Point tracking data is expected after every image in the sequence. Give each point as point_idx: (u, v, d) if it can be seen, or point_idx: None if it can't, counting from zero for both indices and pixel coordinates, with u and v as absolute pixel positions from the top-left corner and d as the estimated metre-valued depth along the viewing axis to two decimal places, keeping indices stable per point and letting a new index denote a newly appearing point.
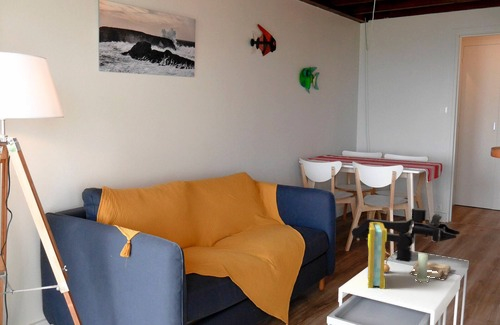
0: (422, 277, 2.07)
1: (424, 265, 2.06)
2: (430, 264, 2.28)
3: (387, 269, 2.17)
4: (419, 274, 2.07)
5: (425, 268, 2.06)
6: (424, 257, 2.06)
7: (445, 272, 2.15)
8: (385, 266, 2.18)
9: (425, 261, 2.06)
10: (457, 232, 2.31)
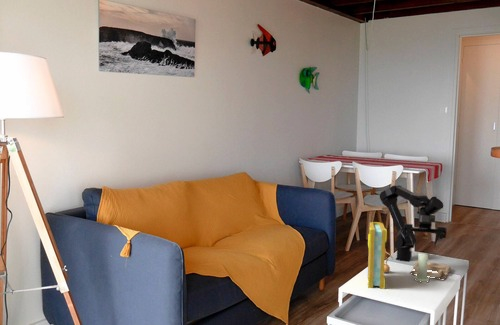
0: (422, 277, 2.07)
1: (424, 265, 2.06)
2: (430, 264, 2.28)
3: (387, 269, 2.17)
4: (419, 274, 2.07)
5: (425, 268, 2.06)
6: (424, 257, 2.06)
7: (445, 272, 2.15)
8: (385, 266, 2.18)
9: (425, 261, 2.06)
10: (434, 245, 2.14)
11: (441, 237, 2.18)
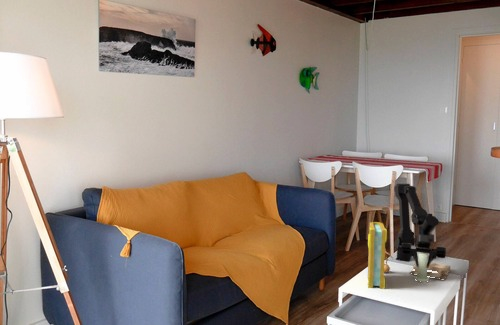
0: (422, 277, 2.07)
1: (424, 265, 2.06)
2: (430, 264, 2.28)
3: (387, 269, 2.17)
4: (419, 274, 2.07)
5: (425, 268, 2.06)
6: (424, 257, 2.06)
7: (445, 272, 2.15)
8: (385, 266, 2.18)
9: (425, 261, 2.06)
10: (427, 265, 2.07)
11: (434, 257, 2.10)
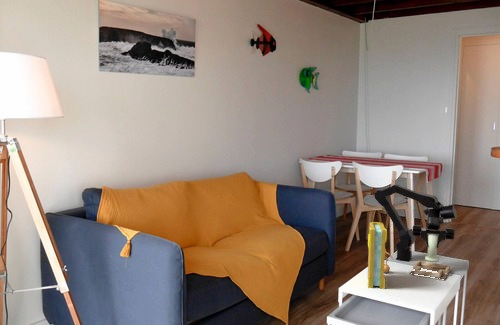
0: (432, 257, 2.21)
1: (434, 246, 2.20)
2: (430, 264, 2.28)
3: (387, 269, 2.17)
4: (429, 254, 2.21)
5: (435, 248, 2.20)
6: (434, 238, 2.20)
7: (445, 272, 2.15)
8: (385, 266, 2.18)
9: (435, 242, 2.20)
10: (437, 245, 2.21)
11: (444, 238, 2.24)
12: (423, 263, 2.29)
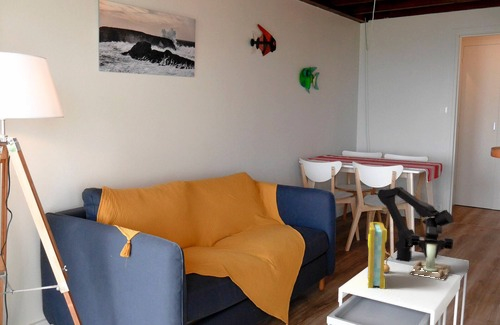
0: (430, 267, 2.17)
1: (432, 256, 2.16)
2: None
3: (387, 269, 2.17)
4: (427, 264, 2.18)
5: (433, 258, 2.17)
6: (432, 248, 2.16)
7: (445, 272, 2.15)
8: (385, 266, 2.18)
9: (433, 252, 2.16)
10: (435, 255, 2.17)
11: (442, 248, 2.20)
12: (423, 263, 2.29)
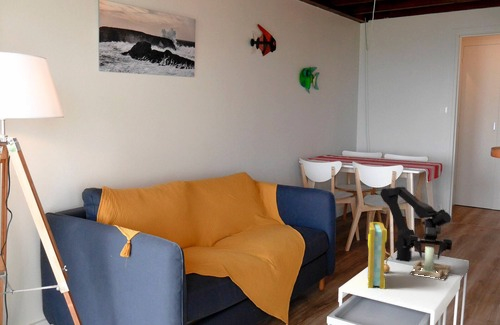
0: (429, 269, 2.15)
1: (430, 258, 2.15)
2: None
3: (387, 269, 2.17)
4: (426, 267, 2.16)
5: (432, 261, 2.15)
6: (431, 250, 2.15)
7: (445, 272, 2.15)
8: (385, 266, 2.18)
9: (432, 254, 2.15)
10: None
11: (444, 249, 2.18)
12: (423, 263, 2.29)
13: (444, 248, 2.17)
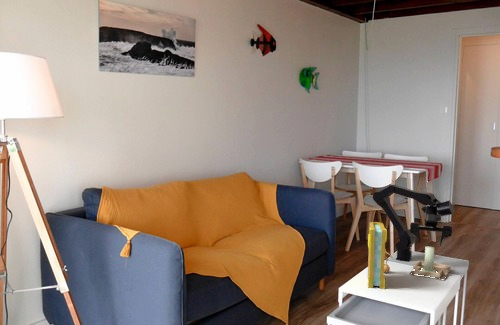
0: (429, 269, 2.15)
1: (430, 258, 2.15)
2: None
3: (387, 269, 2.17)
4: (426, 267, 2.16)
5: (432, 261, 2.15)
6: (431, 250, 2.15)
7: (445, 272, 2.15)
8: (385, 266, 2.18)
9: (432, 254, 2.15)
10: (440, 243, 2.19)
11: (447, 235, 2.23)
12: (423, 263, 2.29)
13: (446, 235, 2.22)
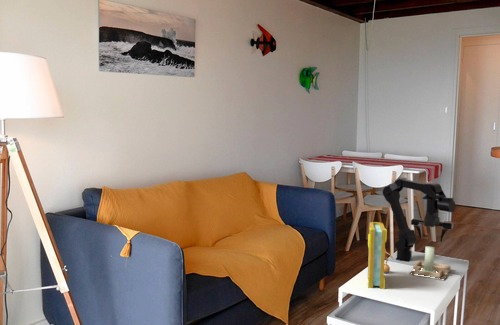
0: (429, 269, 2.15)
1: (430, 258, 2.15)
2: None
3: (387, 269, 2.17)
4: (426, 267, 2.16)
5: (432, 261, 2.15)
6: (431, 250, 2.15)
7: (445, 272, 2.15)
8: (385, 266, 2.18)
9: (432, 254, 2.15)
10: (440, 240, 2.26)
11: None
12: (423, 263, 2.29)
13: None
